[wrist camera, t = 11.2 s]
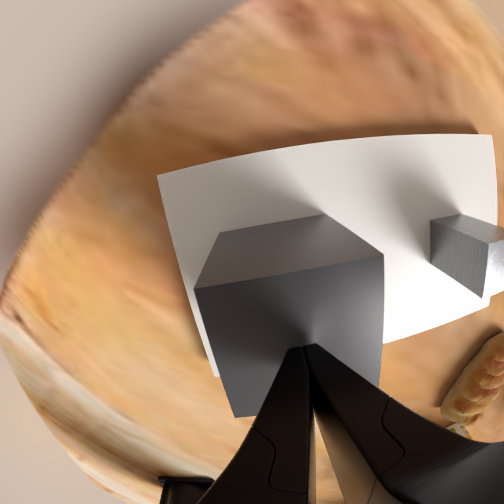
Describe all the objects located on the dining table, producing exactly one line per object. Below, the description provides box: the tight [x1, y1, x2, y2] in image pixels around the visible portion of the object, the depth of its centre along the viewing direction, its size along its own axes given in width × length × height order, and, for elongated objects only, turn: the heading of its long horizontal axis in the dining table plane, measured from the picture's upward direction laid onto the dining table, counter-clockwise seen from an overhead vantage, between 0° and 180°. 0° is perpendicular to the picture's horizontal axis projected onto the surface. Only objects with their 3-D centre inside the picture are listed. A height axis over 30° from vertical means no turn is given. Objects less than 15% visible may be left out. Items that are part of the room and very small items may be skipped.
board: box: [157, 134, 497, 377], centre depth 15 cm, size 20×12×1 cm, turn 101°
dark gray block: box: [193, 214, 384, 418], centre depth 11 cm, size 5×5×7 cm
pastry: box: [440, 332, 504, 426], centre depth 17 cm, size 9×7×4 cm
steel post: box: [430, 214, 504, 299], centre depth 12 cm, size 3×3×5 cm
